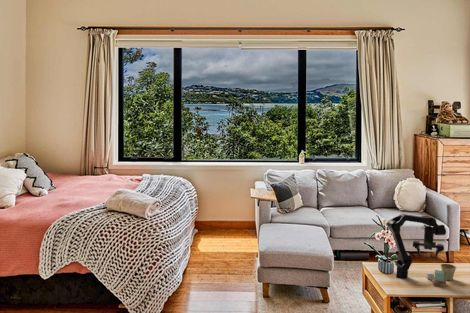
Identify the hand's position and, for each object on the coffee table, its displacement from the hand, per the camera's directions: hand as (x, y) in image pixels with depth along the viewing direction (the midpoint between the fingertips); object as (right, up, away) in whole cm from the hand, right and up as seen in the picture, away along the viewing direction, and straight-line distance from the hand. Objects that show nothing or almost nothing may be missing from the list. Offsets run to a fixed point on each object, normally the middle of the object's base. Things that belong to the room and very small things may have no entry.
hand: (427, 258), depth 285 cm
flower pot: (+12, -13, -3) cm, 18 cm away
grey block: (0, -13, -3) cm, 13 cm away
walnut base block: (+2, -14, -12) cm, 19 cm away
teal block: (+2, -10, -13) cm, 17 cm away
